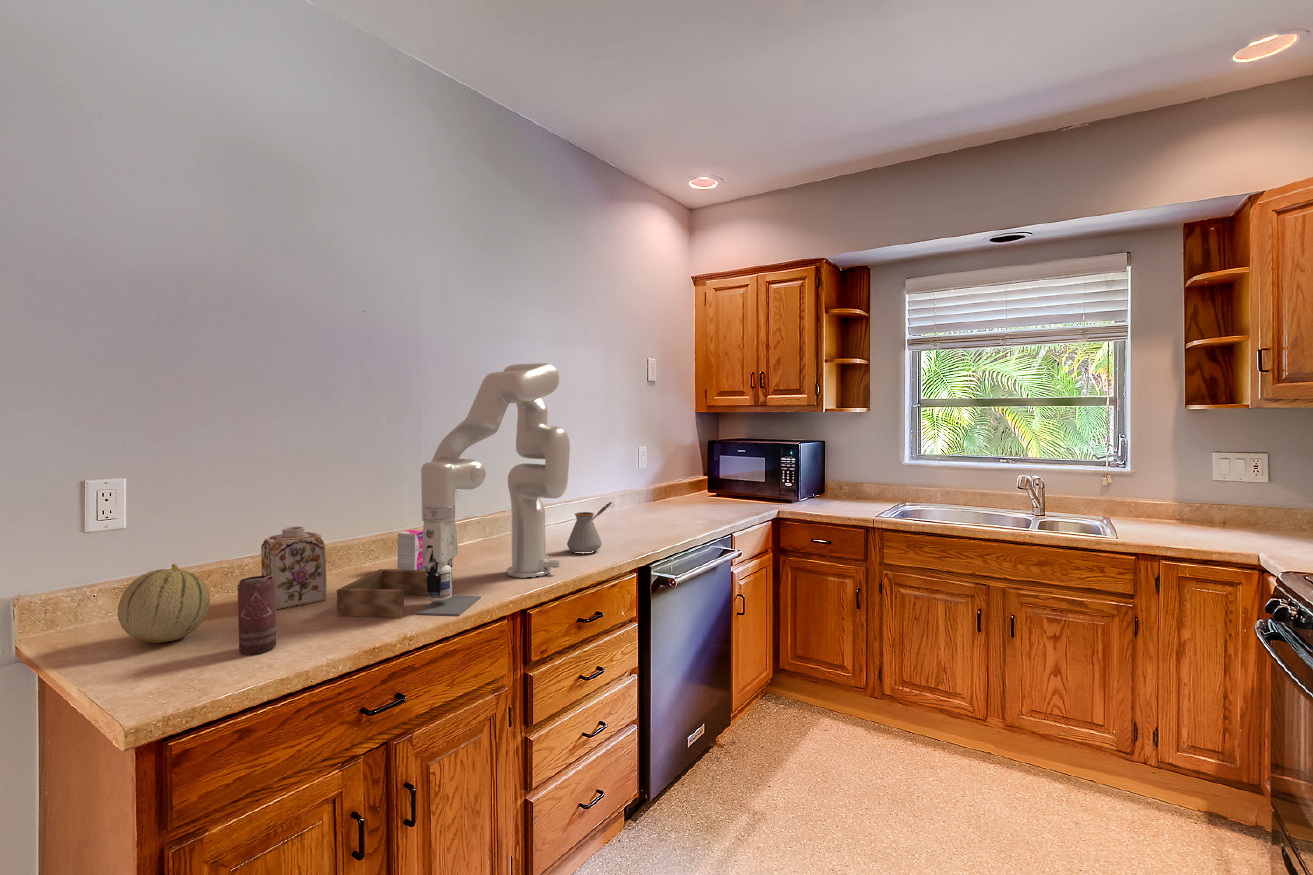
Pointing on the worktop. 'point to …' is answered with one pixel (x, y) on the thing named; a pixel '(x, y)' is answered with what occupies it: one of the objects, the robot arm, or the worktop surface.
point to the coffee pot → (585, 532)
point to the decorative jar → (295, 566)
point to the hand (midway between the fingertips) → (439, 587)
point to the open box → (380, 593)
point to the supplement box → (410, 550)
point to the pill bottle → (443, 583)
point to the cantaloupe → (163, 605)
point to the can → (256, 615)
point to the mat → (449, 606)
